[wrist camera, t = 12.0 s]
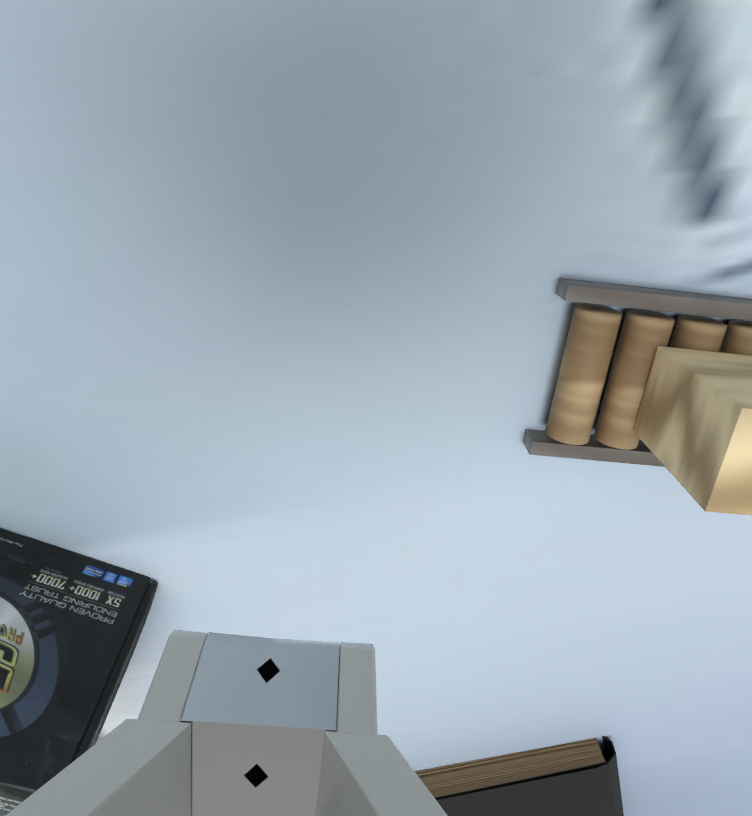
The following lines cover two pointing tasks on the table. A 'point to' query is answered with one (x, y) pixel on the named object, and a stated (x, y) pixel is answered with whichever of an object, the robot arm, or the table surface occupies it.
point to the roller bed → (626, 363)
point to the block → (702, 424)
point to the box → (59, 656)
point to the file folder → (532, 783)
